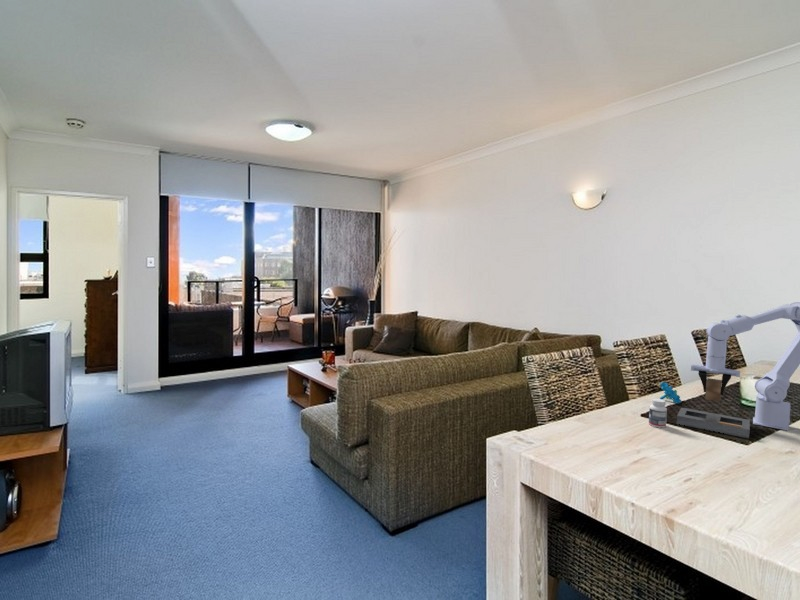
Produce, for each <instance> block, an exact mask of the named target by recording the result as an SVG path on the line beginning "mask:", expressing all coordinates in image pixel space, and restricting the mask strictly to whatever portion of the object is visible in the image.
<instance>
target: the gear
mask: <svg viewBox="0 0 800 600" xmlns="http://www.w3.org/2000/svg"><path fill="white" fill-rule="evenodd" d="M659 385H660V386H661V387H660V388H661V390H662V391H663V393H664V395H662V396H661V397H659V399H662V400H665V399H669V400H670V401H671V400H672V402H673V403H674V404H678V405H679V404H681V402H682V399H681V396H680V395H679V394H678V391H677V389H674V388H673V386H672V385H670V386H669V383H668V382H664V381H661V383H660V384H659Z"/></svg>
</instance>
